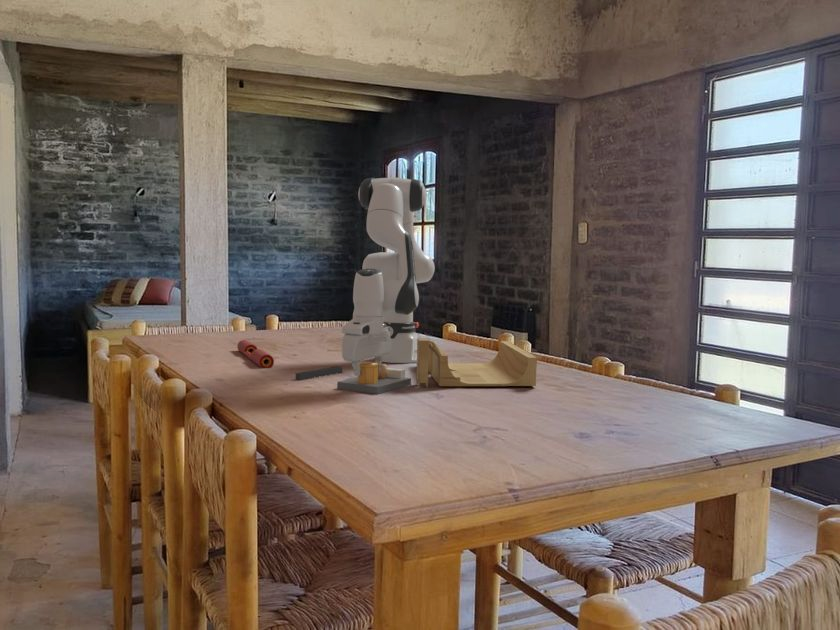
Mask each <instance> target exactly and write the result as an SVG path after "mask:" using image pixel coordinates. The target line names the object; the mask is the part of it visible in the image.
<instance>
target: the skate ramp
mask: <svg viewBox="0 0 840 630" xmlns="http://www.w3.org/2000/svg"><path fill="white" fill-rule="evenodd" d="M417 335H418V336H421V333H420V332H417ZM506 339H507V340H500V342H499V343H500V344H499V350H498V352H497V354H496V356H495V357H494V358H493V359H491V360H490V361H487V362H482V363H481V362H478V363H477V362H475V363H473V362H471V363H470V362H469V363H467V362H466V363H465V362H464V363H463V362H462V363H461V362H460V363H459V362H458V363H456V362H455V363H454V362H449V356H448V354H447V353H446V352H445V351H444V350H443V349H442V348H441V347H440V346H439V345H438V343H436V342H435V341H434V340H433V339H432V337H430V335H429V334H427V332H425V337H420V338H417V363H416V385H417V384H418V387H417V388H420V384H421V383H422V384H423V383H424V385H425V387H426V388H429V374H430V375H431V376H432V378H433V379H434V381H435V382H436V383H437V385H438V386H439V387H510V386H511V387H536V386H537V367H538V356H537V355H535V354H533V351H534V352H537V350H536V349H533V348H532V350H531V349H529V346H527V345H525V343H522V342H520V341H518V340H516V339H515V342H517V344H515V343H513V342H512V340H514V338H513V337H506ZM526 347H527V348H526Z"/></svg>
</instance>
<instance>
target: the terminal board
mask: <svg viewBox="0 0 840 630" xmlns="http://www.w3.org/2000/svg"><path fill="white" fill-rule="evenodd" d="M408 385H409V386H411V385H412V378H411V377H406V370H405V369H403V368H402V369H401V368H394V367H388V365H387V364H386V363H381V365H380V371H378V382H377V383H373V384H363V383H358V382H357V376H355V377H352V378H346V379H343V380H340V381H337V385H336V387H337V388H336V389H338V390H343V391H344V390H345V391H351V392H352V391H353V392H358V393H367V394H373V395H374V394H375V395H379V394H384V393H387V392H390V391H395V390H397V389H398V390H399V389H401V387H402V388H406V387H408Z"/></svg>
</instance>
